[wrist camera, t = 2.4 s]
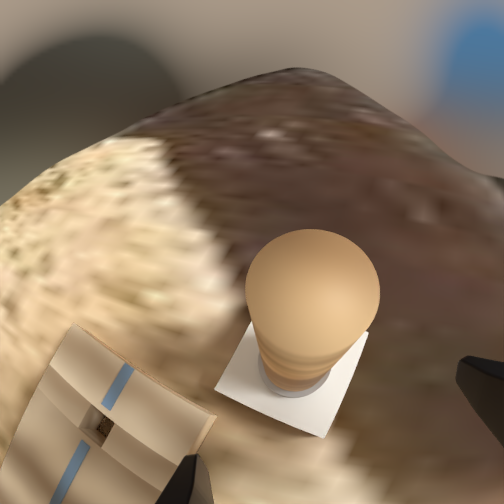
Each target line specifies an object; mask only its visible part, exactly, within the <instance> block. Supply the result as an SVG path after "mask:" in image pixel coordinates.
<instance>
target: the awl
mask: <svg viewBox="0 0 504 504" xmlns="http://www.w3.org/2000/svg"><path fill="white" fill-rule="evenodd" d="M245 293H246V301H247V304H248V308H249V312H250V316H251V320H252V324H253V328H254V332H255V336H256V340H257V343H258V347H259V355H258V368H259V372H260V375H261V377H262V380H263V381H264V383H265V384H266V385H267V387H268V388H270V389H271V390H272V391H273V392H275V393H277V394H278V395H281V396H284V397H288V398H299V397H304V396H307V395H309V394H311V393H313V392H315V391H316V390H317V389H319V388H320V387H321V386H322V385H323V384H324V383H325V381H326V380H327V378H328V376H329V374H330V372H331V368H332V367H333V366H334V365H335V364H336V363H337V362H338V361H339V360H340V359H341V358H342V357H343V356H344V354H345V353H346V352H347V351H348V350H349V349H350V348H351V347H352V346H353V345H354V343H355V342H356V341H357V340H358V339H359V338H360V337H361V335H362V334H363V333H364V332H365V331H366V329H367V328H368V327H369V326H370V324H371V322H372V321H373V319H374V317H375V315H376V312H377V309H378V305H379V299H380V286H379V281H378V277H377V274H376V271H375V269H374V267H373V264H372V263H371V261H370V260H369V258H368V257H367V256H366V254H365V253H364V252H363V251H362V250H361V249H360V248H359V247H358V246H357V245H355V244H354V243H353V242H351V241H350V240H348V239H346V238H344V237H342V236H340V235H338V234H335V233H332V232H329V231H324V230H315V229H305V230H298V231H293V232H289V233H287V234H284V235H281V236H279V237H278V238H276V239H274V240H272V241H271V242H270V243H268V244H267V245H266V246H265V247H264V248H262V250H261V251H260V252H259V253H258V254H257V255H256V257H255V259H254V260H253V262H252V264H251V266H250V268H249V271H248V274H247V278H246V287H245Z"/></svg>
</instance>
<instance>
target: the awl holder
mask: <svg viewBox="0 0 504 504" xmlns="http://www.w3.org/2000/svg"><path fill="white" fill-rule="evenodd" d="M367 336H368V332H366V331H365V332H364V333H363V334H362V335H361V337H360V338H359V339H358V340H357V341H356V342H355V343H354V345H353V346H352V347H351V348H350V349H349V350H348V351H347V352H346V353H345V354H344V356H343V357H342V358H341V359H340V360H339V361H338V362H337V363H336V364H335V365H334V366H333V367H332V368H331V372H330V374H329V376H328V378H327V380H326V381H325V383H324V384H323V385H322V386H321V387H320V388H319V389H317V390H316V391H315V392H313V393H311V394H309V395H307V396H304V397H299V398H288V397H284V396H281V395H278V394H277V393H275V392H273V391H272V390H271V389H270V388H268V387H267V385H266V384H265V383H264V381H263V380H262V377H261V375H260V372H259V368H258V355H259V347H258V343H257V340H256V336H255V332H254V328H253V324H252V321H251V323H250V325H249V327H248V328H247V330H246V332H245V334H244V336H243V338H242V340H241V341H240V343H239V345H238V347H237V349H236V351H235V353H234V354H233V356H232V358H231V360H230V362H229V363H228V365H227V367H226V369H225V371H224V373H223V374H222V376H221V378H220V380H219V382H218V383H217V385H216V387H215V389H214V390H216V391H218V392H220V393H222V394H224V395H226V396H228V397H230V398H232V399H234V400H236V401H238V402H240V403H242V404H244V405H246V406H248V407H250V408H252V409H254V410H256V411H259V412H261V413H263V414H265V415H267V416H270V417H272V418H274V419H276V420H279V421H281V422H283V423H286V424H288V425H290V426H293V427H295V428H298V429H300V430H303V431H305V432H308V433H310V434H313V435H316V436H318V437H321V438H325V436H326V434H327V432H328V430H329V428H330V426H331V423H332V421H333V419H334V417H335V415H336V413H337V411H338V408H339V406H340V404H341V402H342V399H343V397H344V395H345V392H346V390H347V388H348V385H349V383H350V381H351V378H352V376H353V373H354V371H355V368H356V366H357V363H358V360H359V358H360V355H361V352H362V350H363V347H364V344H365V342H366V339H367Z"/></svg>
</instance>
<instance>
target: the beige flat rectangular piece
mask: <svg viewBox="0 0 504 504" xmlns="http://www.w3.org/2000/svg"><path fill="white" fill-rule="evenodd" d="M105 415H106V416H107V417H108V418H109V419H111V420H112V421H113V422H114V423H115V424H114V426H113V428H112V429H111V431H110V433H109V435H108V436H107V437H105V436H104V435H103V434H102V433H101V432H99V431H98V430H97V429H98V427H99V425H100V423H101V421H102V420H103V418H104V416H105ZM216 418H217V415H215V414H214V413H212V412H210V411H208V410H206V409H204V408H202V407H201V406H199V405H197V404H195V403H194V402H192V401H190V400H188V399H187V398H185V397H183V396H181V395H180V394H178V393H176V392H175V391H173V390H171V389H170V388H168V387H167V386H165V385H163V384H162V383H160V382H159V381H157V380H155V379H154V378H152V377H151V376H149V375H148V374H146V373H145V372H143V371H142V370H140V369H139V368H137V367H136V366H134V365H133V364H131V363H130V362H129V361H127V360H126V359H124V358H123V357H121V356H120V355H119V354H117V353H116V352H115V351H113V350H112V349H110V348H109V347H108V346H106V345H105V344H104V343H102V342H101V341H100V340H99V339H97V338H96V337H95V336H93V335H92V334H91V333H89V332H88V331H86V330H84V329H83V328H81V327H80V326H78V325H77V324H75V323H73V324H72V326H71V327H70V329H69V331H68V332H67V334H66V336H65V337H64V339H63V341H62V343H61V344H60V346H59V348H58V349H57V351H56V353H55V355H54V356H53V358H52V360H51V362H50V364H49V365H48V367H47V369H46V371H45V373H44V375H43V377H42V378H41V380H40V382H39V384H38V386H37V388H36V390H35V392H34V394H33V396H32V398H31V400H30V402H29V404H28V406H27V408H26V410H25V412H24V414H23V417H22V419H21V421H20V423H19V425H18V428H17V430H16V432H15V434H14V437H13V439H12V441H11V444H10V446H9V449H8V451H7V454H6V456H5V459H4V461H3V464H2V467H1V469H0V504H155V502H156V501H157V499H158V497H159V496H160V494H161V493H162V491H163V490H164V488H165V486H166V485H167V483H168V482H169V480H170V478H171V477H172V475H173V474H174V472H175V470H176V469H177V467H178V465H179V464H180V462H181V461H182V459H183V457H184V456H185V455H190V454H196V452H197V451H198V449H199V447H200V446H201V444H202V442H203V441H204V439H205V437H206V435H207V434H208V432H209V430H210V428H211V427H212V425H213V423H214V421H215V420H216Z"/></svg>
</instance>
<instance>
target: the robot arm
mask: <svg viewBox="0 0 504 504" xmlns="http://www.w3.org/2000/svg"><path fill="white" fill-rule="evenodd" d="M456 382H457V384H458V386H459V387H460V389H461V390H462V392H463V393H464V395H465V396H466V398H467V400H468V401H469V403H470V404H471V406H472V407H473V409H474V410H475V412H476V413H477V414H478V416H479V417H480V418H481V419H482V421H483V422H484V423H485V424H486V426H487V427H488V428H489V429H490V431H491V432H492V433H493V435H494V436H495V437H496V438H497V440H498V441H499V442H500V444H501V445H502V446H503V447H504V362H499V361H494V360H489V359H484V358H479V357H474V356H465V357H464V358H462V359H461V360H459V362H458V366H457V372H456ZM155 504H214V501H213V496H212V490H211V484H210V478H209V472H208V469H207V467H206V465H205V464H204V462H203V461H202V459H201V457H200V456H199V455H198V454H190V455H185V456H184V457H183V459H182V461H181V462H180V464H179V465H178V467H177V469H176V470H175V472H174V474H173V475H172V477H171V478H170V480H169V482H168V483H167V485H166V486H165V488H164V490H163V491H162V493H161V494H160V496H159V497H158V499H157V501H156V502H155Z"/></svg>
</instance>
